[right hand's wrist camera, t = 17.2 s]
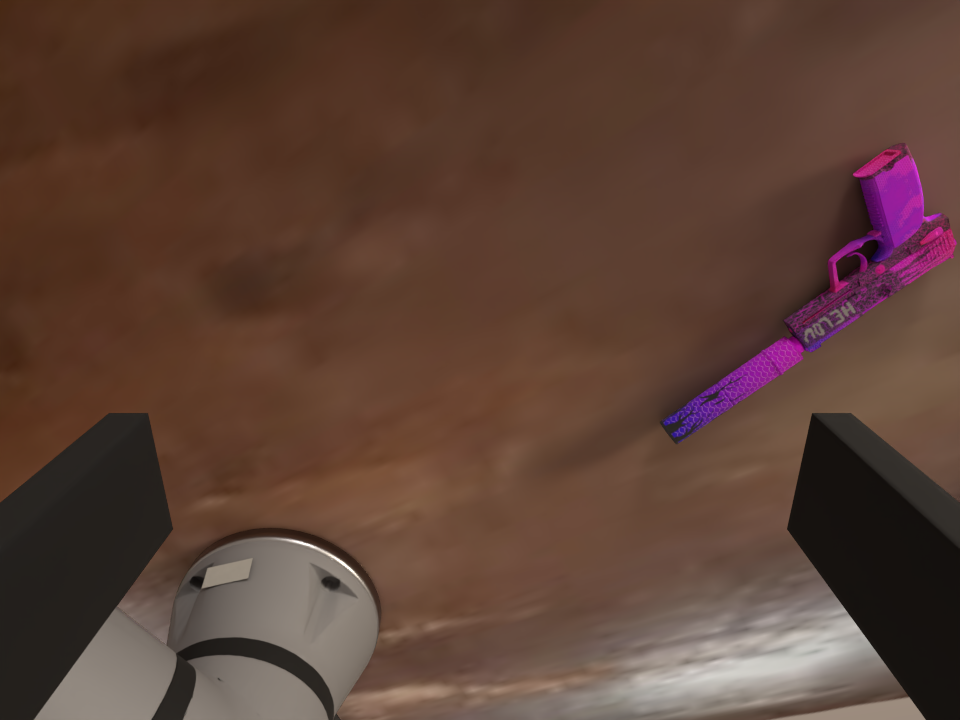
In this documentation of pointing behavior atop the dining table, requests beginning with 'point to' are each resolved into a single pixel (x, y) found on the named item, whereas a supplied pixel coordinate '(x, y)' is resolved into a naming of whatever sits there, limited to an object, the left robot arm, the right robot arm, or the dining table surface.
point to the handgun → (842, 284)
